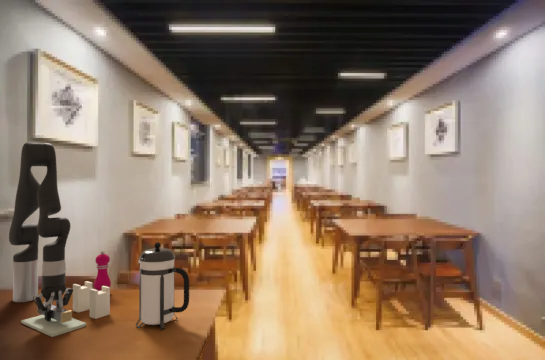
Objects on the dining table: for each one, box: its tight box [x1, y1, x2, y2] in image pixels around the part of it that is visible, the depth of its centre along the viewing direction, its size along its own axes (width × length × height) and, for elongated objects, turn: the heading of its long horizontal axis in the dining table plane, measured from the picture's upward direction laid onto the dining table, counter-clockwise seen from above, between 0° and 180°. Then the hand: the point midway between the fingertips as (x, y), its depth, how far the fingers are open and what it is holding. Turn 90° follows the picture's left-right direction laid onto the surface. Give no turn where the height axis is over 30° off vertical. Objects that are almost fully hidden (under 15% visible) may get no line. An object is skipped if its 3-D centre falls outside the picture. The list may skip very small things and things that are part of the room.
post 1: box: [72, 280, 93, 313], centre depth 158 cm, size 4×6×11 cm, turn 146°
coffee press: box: [135, 241, 190, 331], centre depth 144 cm, size 17×16×30 cm
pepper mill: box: [93, 250, 112, 291], centre depth 180 cm, size 7×7×20 cm
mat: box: [21, 314, 87, 338], centre depth 142 cm, size 22×12×1 cm, turn 56°
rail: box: [36, 301, 73, 323], centre depth 142 cm, size 18×3×3 cm, turn 56°
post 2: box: [89, 286, 111, 320], centre depth 152 cm, size 4×6×11 cm, turn 146°
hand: (53, 319), depth 142 cm, fingers closed on rail, 3 cm apart
